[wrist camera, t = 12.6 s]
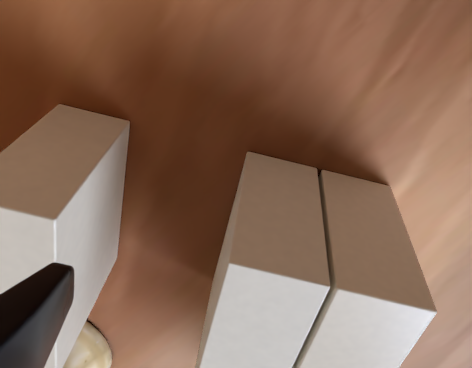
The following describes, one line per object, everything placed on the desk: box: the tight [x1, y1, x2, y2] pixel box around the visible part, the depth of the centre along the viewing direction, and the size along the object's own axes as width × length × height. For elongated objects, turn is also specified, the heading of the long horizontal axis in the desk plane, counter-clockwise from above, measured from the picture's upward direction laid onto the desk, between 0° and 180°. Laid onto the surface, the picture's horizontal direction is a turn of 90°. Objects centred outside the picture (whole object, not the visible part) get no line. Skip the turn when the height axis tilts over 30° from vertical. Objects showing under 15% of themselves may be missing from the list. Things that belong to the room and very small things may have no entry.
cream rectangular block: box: [292, 170, 437, 368], centre depth 20 cm, size 4×9×8 cm, turn 168°
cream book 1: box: [195, 152, 330, 368], centre depth 20 cm, size 4×9×8 cm, turn 168°
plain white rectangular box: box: [0, 104, 130, 368], centre depth 20 cm, size 4×9×8 cm, turn 168°
